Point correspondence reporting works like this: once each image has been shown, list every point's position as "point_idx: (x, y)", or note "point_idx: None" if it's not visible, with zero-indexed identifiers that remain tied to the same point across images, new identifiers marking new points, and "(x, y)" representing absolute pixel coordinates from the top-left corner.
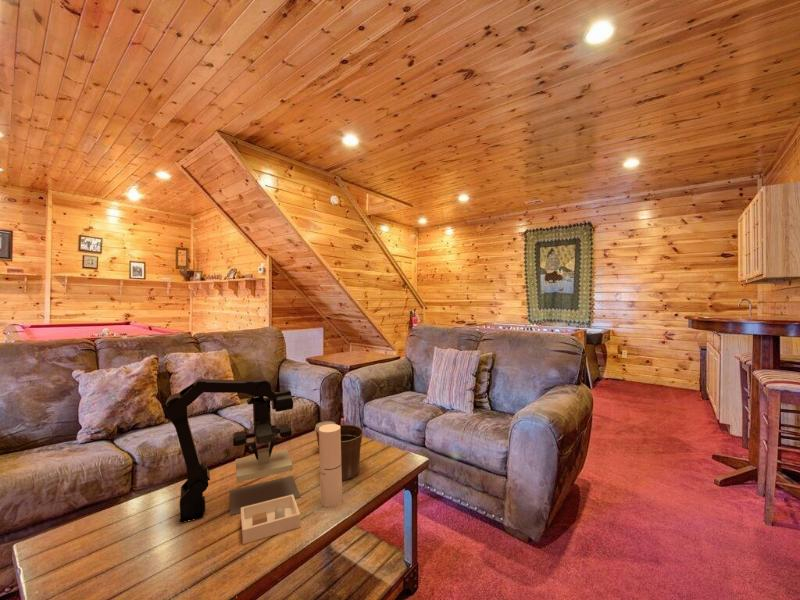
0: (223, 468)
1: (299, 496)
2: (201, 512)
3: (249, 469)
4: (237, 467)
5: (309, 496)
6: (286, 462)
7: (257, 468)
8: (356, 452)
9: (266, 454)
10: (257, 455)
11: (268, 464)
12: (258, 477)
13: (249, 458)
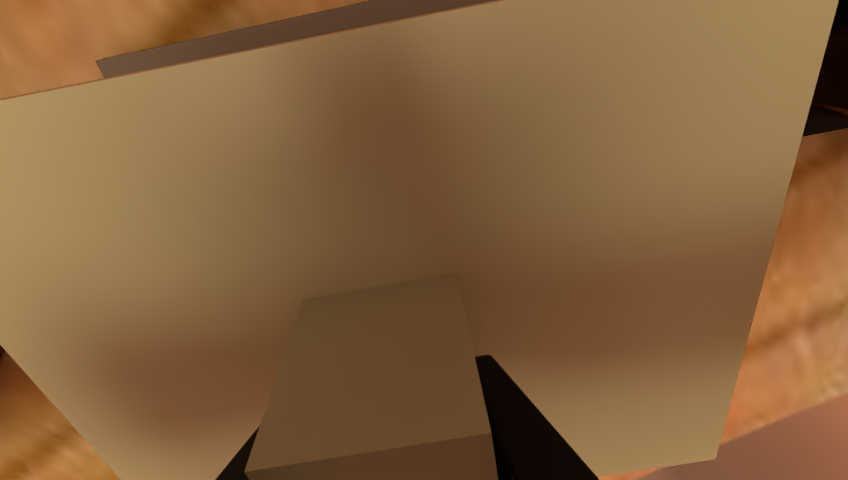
0: (631, 472)
1: (106, 66)
2: (840, 22)
3: (591, 171)
4: (743, 278)
5: (24, 55)
6: (6, 252)
7: (464, 171)
8: None
9: (312, 411)
10: (495, 414)
11: (303, 255)
12: (431, 13)
13: (572, 447)
